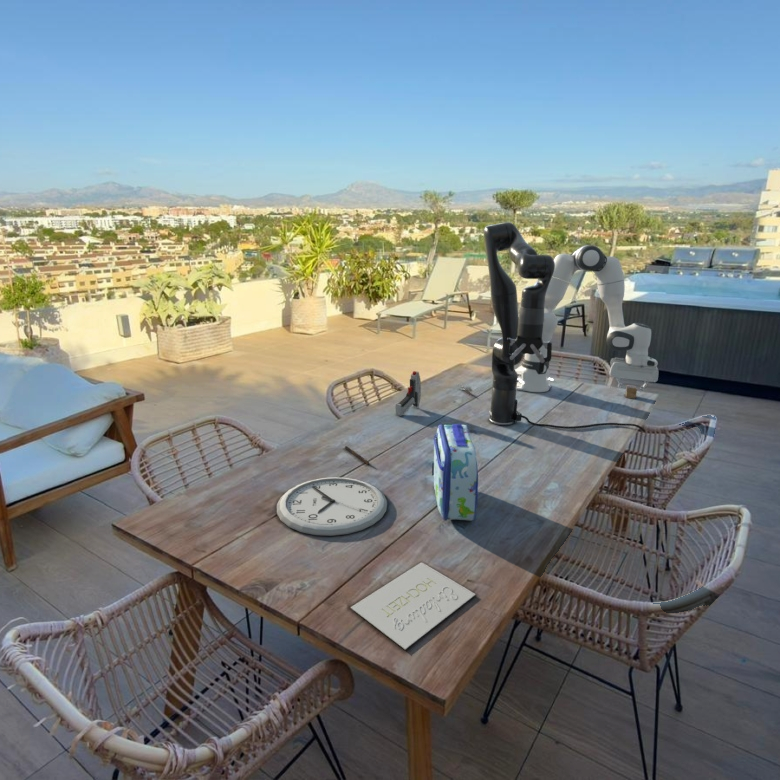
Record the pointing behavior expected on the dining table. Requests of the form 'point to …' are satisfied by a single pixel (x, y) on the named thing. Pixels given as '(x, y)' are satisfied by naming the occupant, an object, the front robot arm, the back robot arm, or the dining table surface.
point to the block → (631, 391)
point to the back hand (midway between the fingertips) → (630, 388)
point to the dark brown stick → (357, 455)
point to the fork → (464, 389)
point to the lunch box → (455, 472)
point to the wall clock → (331, 506)
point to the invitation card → (412, 604)
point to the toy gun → (410, 395)
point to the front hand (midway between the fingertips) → (526, 372)
